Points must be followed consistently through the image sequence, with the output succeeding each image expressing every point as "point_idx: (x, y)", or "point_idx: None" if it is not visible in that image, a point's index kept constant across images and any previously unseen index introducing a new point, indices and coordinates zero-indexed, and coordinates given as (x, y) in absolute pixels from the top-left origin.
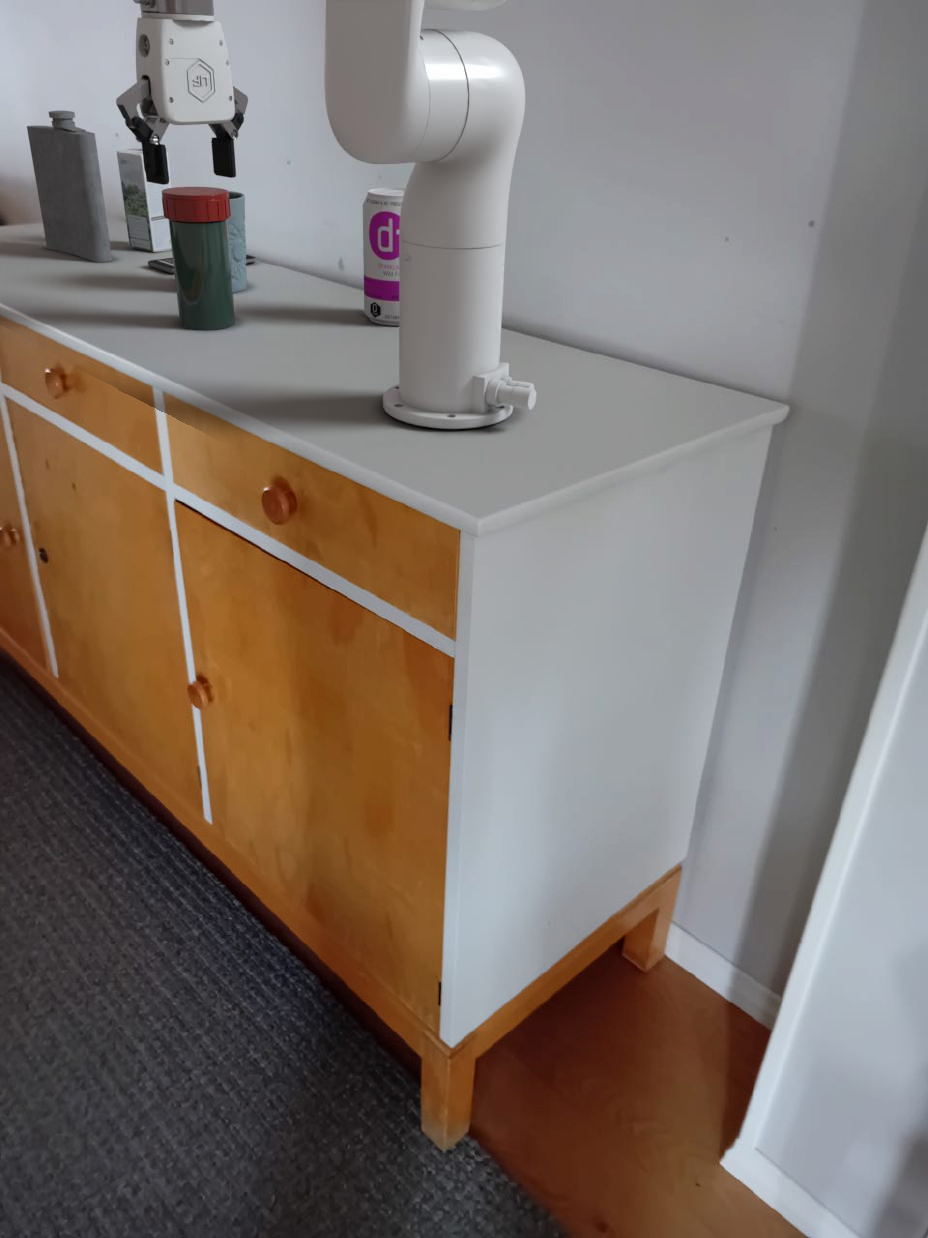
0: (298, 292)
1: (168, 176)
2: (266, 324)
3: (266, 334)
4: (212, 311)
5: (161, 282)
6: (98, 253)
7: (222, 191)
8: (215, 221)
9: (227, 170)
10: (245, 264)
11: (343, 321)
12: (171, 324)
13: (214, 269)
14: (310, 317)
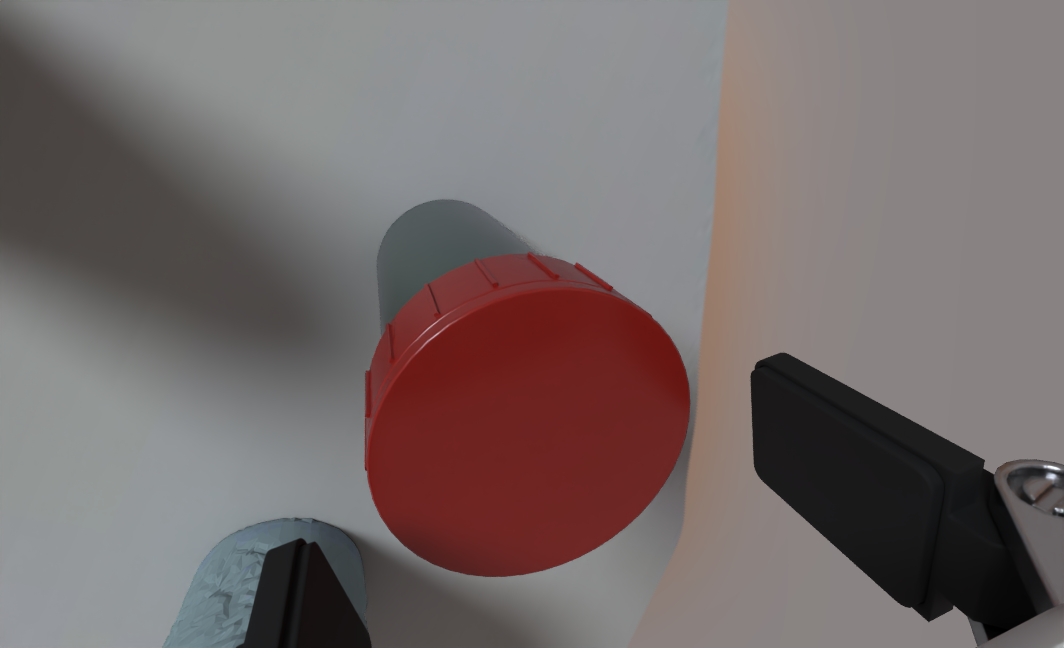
0: (54, 484)
1: (775, 378)
2: (306, 182)
3: (353, 77)
4: (469, 208)
5: (386, 634)
6: None
7: (420, 397)
8: None
9: (321, 581)
10: (183, 608)
11: (16, 77)
12: None
13: (474, 227)
14: (130, 190)
